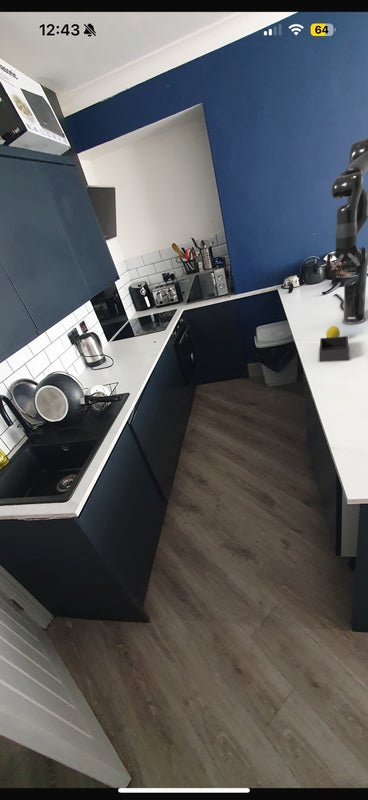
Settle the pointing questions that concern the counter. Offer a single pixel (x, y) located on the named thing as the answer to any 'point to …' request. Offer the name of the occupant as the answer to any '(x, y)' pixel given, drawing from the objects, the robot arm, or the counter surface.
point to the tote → (334, 349)
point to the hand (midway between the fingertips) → (345, 276)
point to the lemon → (333, 332)
